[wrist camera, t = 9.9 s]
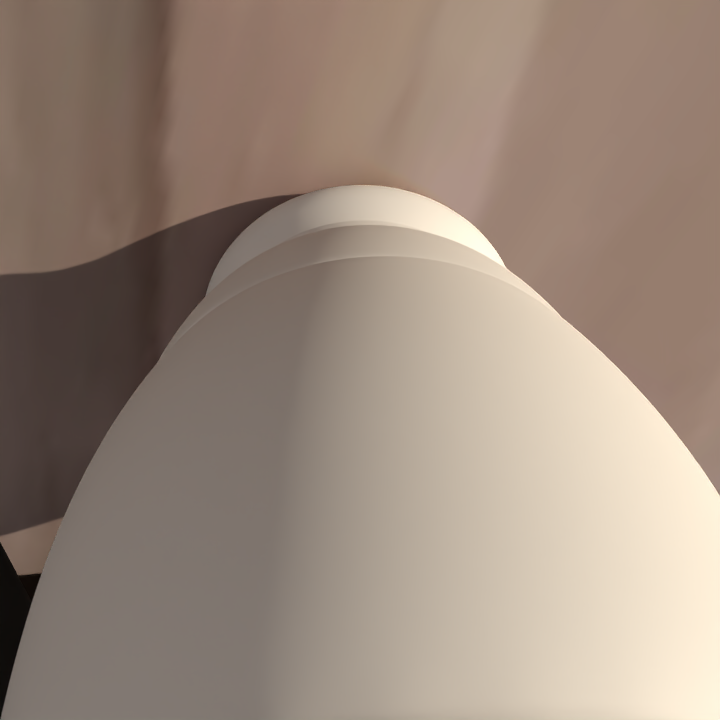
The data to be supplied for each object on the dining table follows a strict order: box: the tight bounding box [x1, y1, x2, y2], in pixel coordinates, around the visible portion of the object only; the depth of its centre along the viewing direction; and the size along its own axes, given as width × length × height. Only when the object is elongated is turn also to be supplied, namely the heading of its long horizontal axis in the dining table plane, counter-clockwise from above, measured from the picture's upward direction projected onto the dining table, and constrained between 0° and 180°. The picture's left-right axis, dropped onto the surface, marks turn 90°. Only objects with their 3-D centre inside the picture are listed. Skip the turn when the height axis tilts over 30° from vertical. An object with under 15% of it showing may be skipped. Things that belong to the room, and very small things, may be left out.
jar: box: [0, 185, 720, 720], centre depth 12 cm, size 11×10×15 cm
